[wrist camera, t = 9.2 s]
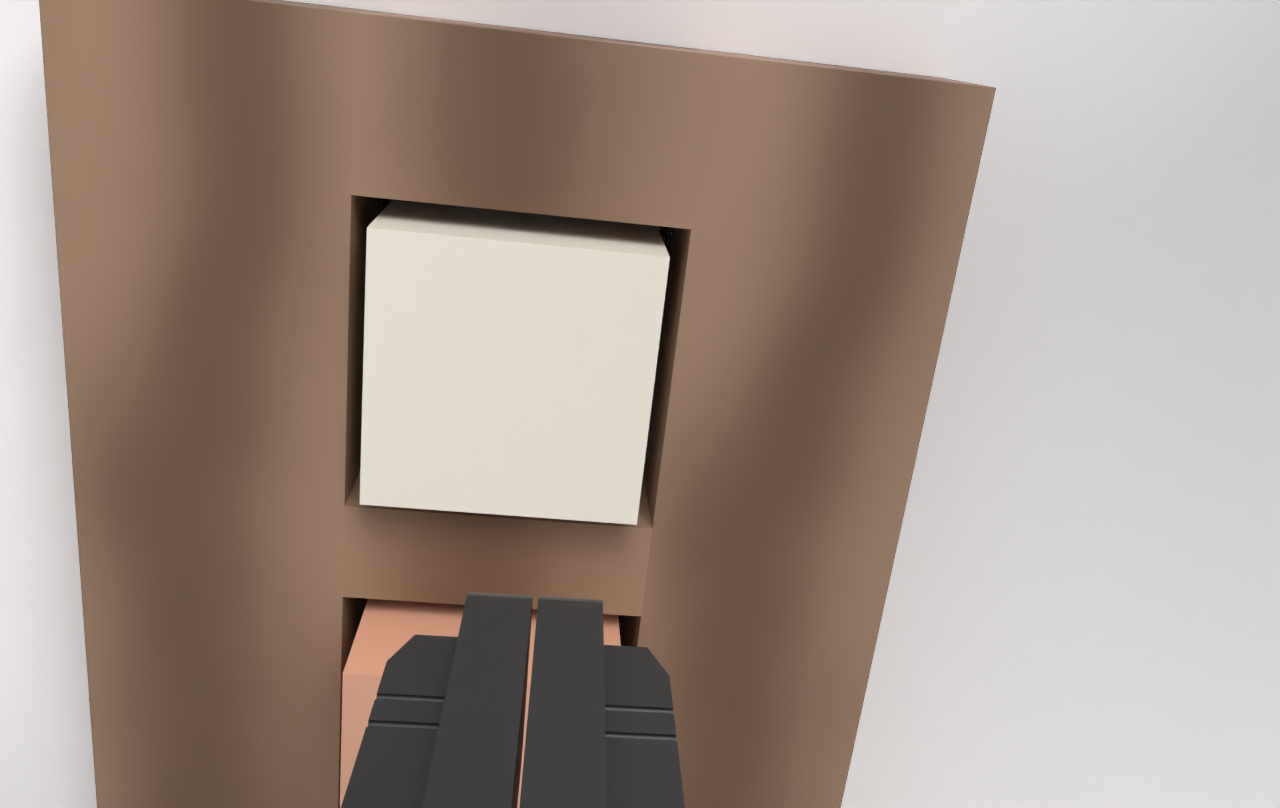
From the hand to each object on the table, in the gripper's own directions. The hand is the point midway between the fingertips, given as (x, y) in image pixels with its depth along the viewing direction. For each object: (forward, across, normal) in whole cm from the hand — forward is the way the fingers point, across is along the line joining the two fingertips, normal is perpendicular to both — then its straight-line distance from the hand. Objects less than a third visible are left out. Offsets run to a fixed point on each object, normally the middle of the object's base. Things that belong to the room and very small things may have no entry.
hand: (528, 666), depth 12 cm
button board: (+12, +1, +8) cm, 14 cm away
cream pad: (+11, +1, 0) cm, 11 cm away
